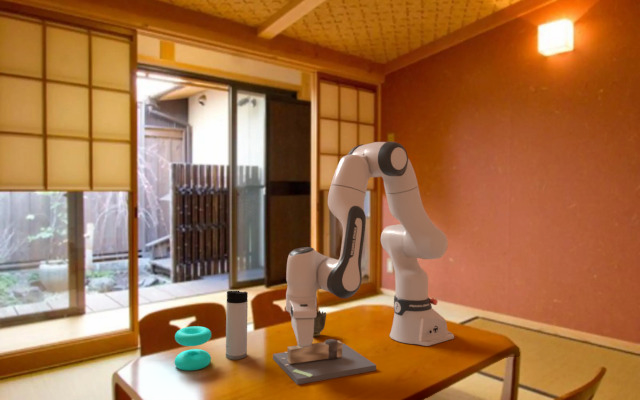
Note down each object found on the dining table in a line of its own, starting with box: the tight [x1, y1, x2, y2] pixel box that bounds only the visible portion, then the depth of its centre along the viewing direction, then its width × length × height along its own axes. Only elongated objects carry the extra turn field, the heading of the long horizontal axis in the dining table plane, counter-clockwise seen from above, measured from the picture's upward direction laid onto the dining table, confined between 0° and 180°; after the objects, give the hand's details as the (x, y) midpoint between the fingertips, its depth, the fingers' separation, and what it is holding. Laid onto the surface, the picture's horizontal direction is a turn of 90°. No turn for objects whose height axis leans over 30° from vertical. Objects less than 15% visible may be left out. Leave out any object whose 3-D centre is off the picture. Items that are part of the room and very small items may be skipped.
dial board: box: [272, 343, 377, 386], centre depth 128 cm, size 24×19×2 cm
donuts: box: [174, 325, 212, 371], centre depth 126 cm, size 10×10×10 cm
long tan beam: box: [287, 338, 343, 364], centre depth 128 cm, size 16×4×4 cm, turn 113°
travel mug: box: [225, 290, 249, 360], centre depth 134 cm, size 6×7×20 cm
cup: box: [313, 310, 327, 338], centre depth 154 cm, size 8×7×8 cm
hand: (300, 351), depth 129 cm, fingers closed
